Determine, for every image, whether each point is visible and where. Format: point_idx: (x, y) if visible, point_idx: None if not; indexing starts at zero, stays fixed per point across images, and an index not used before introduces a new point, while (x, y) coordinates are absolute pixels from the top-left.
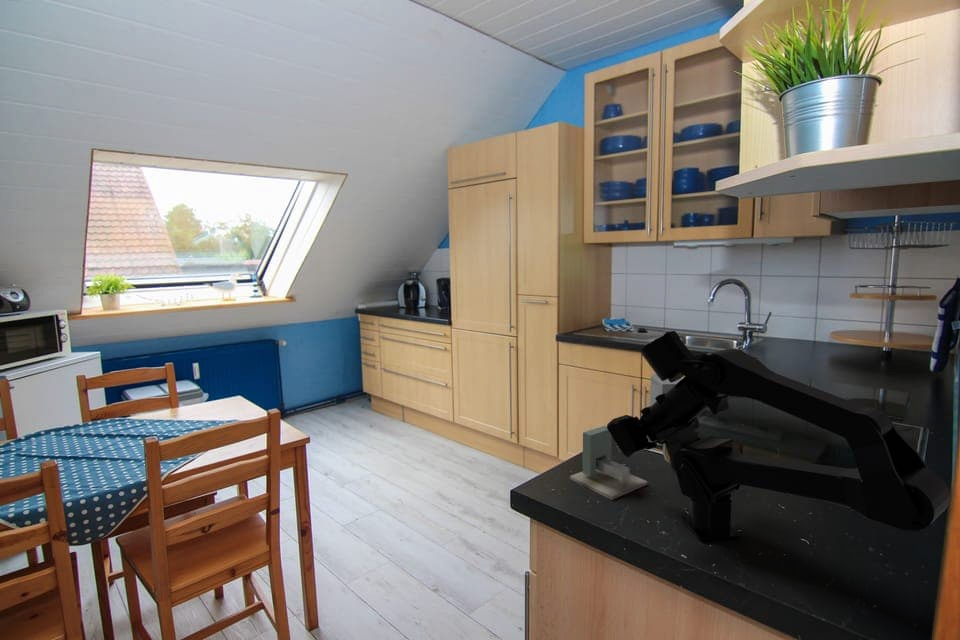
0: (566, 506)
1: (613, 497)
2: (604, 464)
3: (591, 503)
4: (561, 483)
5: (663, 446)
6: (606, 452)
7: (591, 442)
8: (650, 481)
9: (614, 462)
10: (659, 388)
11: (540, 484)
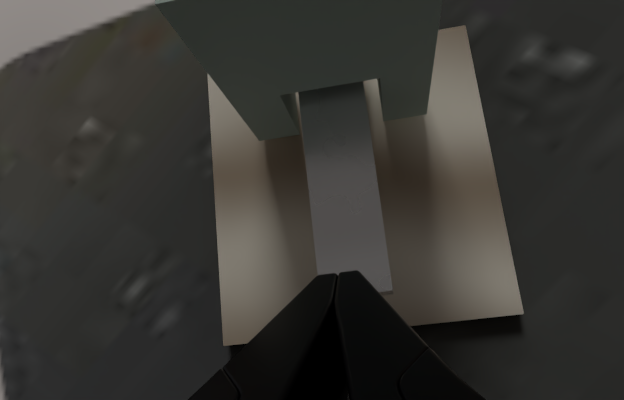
0: (29, 279)
1: (237, 344)
2: (307, 155)
3: (131, 316)
4: (154, 96)
5: None
6: (379, 71)
7: (193, 40)
8: (566, 295)
9: (368, 173)
10: None
11: (77, 65)
